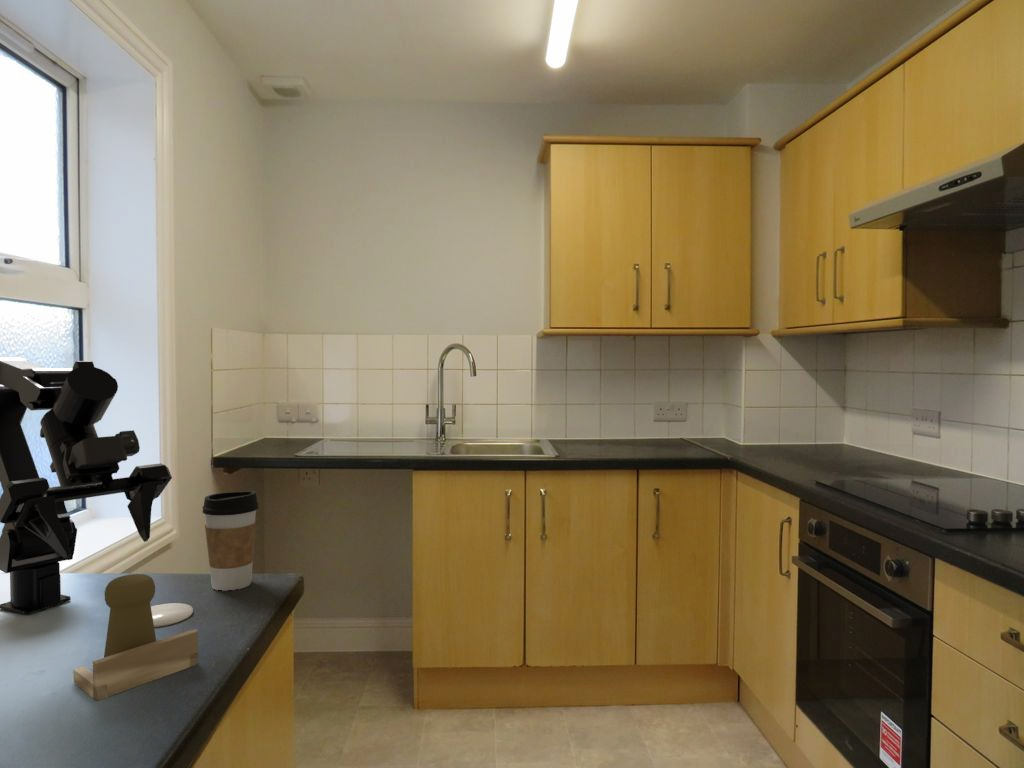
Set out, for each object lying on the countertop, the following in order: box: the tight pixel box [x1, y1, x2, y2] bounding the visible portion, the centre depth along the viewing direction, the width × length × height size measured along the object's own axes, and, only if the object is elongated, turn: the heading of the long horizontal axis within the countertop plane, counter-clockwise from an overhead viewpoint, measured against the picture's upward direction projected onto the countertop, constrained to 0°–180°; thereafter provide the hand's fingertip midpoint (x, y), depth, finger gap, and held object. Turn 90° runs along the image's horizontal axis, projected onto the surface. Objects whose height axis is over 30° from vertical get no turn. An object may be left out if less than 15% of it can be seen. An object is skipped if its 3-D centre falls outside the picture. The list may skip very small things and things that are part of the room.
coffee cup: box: [202, 490, 259, 592], centre depth 107 cm, size 8×8×15 cm
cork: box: [103, 573, 157, 658], centre depth 78 cm, size 6×6×11 cm
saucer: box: [151, 602, 194, 628], centre depth 94 cm, size 8×8×1 cm
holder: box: [73, 628, 199, 702], centre depth 77 cm, size 6×11×4 cm, turn 142°
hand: (109, 547), depth 83 cm, fingers open, 9 cm apart
